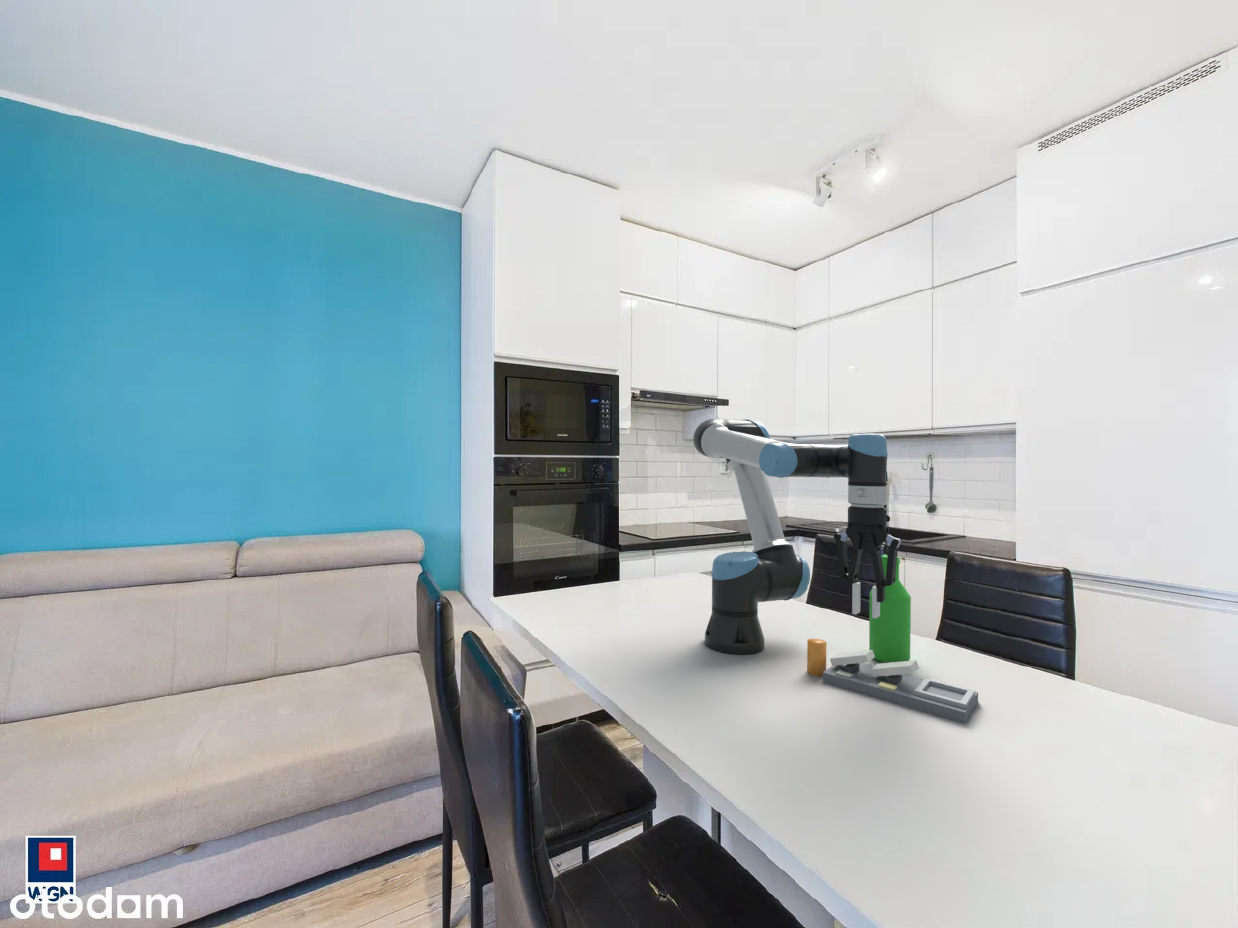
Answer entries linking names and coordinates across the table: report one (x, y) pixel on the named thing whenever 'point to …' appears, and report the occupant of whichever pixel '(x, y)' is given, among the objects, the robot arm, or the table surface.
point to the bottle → (891, 622)
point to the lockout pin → (816, 656)
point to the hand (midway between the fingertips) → (866, 614)
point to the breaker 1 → (852, 657)
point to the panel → (906, 690)
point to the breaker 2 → (894, 668)
